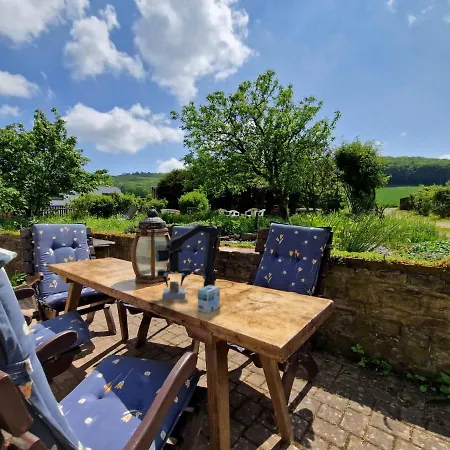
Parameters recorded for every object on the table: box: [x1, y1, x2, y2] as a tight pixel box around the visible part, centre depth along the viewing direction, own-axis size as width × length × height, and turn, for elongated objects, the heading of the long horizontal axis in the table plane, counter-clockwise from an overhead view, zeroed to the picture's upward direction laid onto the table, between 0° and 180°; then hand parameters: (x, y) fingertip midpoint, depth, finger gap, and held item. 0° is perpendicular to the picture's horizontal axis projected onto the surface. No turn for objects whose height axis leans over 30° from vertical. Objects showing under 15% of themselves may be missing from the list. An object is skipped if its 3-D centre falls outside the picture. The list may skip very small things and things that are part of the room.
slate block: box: [162, 287, 186, 300], centre depth 152 cm, size 12×12×3 cm
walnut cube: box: [169, 281, 180, 293], centre depth 152 cm, size 5×5×5 cm
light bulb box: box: [197, 285, 221, 314], centre depth 131 cm, size 11×7×11 cm, turn 148°
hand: (174, 286), depth 152 cm, fingers open, 7 cm apart
